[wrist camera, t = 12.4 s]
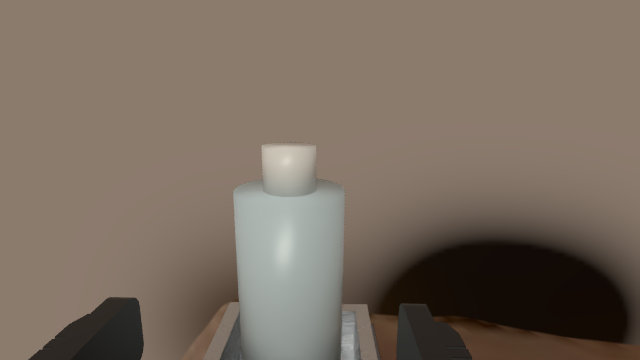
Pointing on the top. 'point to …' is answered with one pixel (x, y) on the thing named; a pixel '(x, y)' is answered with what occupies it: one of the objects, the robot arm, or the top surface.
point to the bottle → (290, 258)
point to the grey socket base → (355, 344)
